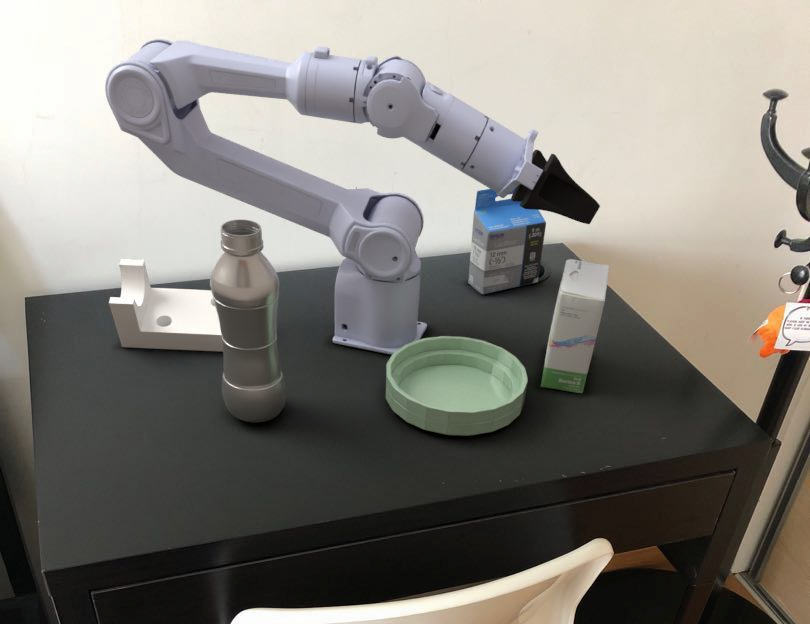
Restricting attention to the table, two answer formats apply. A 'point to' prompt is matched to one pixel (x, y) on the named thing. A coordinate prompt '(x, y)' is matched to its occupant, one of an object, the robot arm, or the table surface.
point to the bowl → (455, 385)
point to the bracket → (163, 314)
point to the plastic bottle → (248, 324)
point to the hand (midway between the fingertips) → (586, 211)
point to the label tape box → (504, 244)
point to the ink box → (575, 325)
